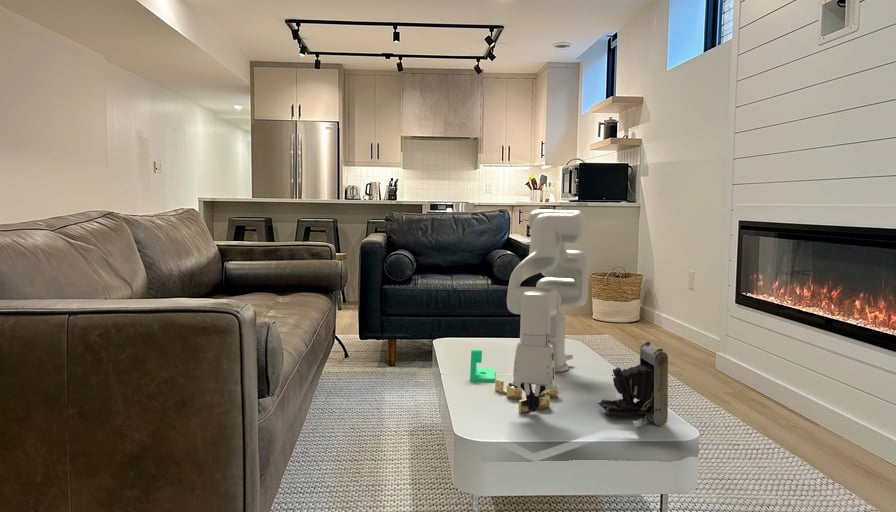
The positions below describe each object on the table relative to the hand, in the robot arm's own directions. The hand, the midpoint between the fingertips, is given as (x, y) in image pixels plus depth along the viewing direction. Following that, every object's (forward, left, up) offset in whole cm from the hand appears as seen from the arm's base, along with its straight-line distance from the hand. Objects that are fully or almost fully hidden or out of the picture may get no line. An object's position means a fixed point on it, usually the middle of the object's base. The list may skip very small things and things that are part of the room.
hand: (532, 409), depth 150 cm
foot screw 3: (-17, -10, -1) cm, 19 cm away
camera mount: (-12, -34, -3) cm, 36 cm away
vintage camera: (-21, +15, -3) cm, 26 cm away
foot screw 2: (-3, -3, -1) cm, 4 cm away
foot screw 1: (-6, -16, -1) cm, 17 cm away
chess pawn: (-32, +5, -3) cm, 32 cm away
